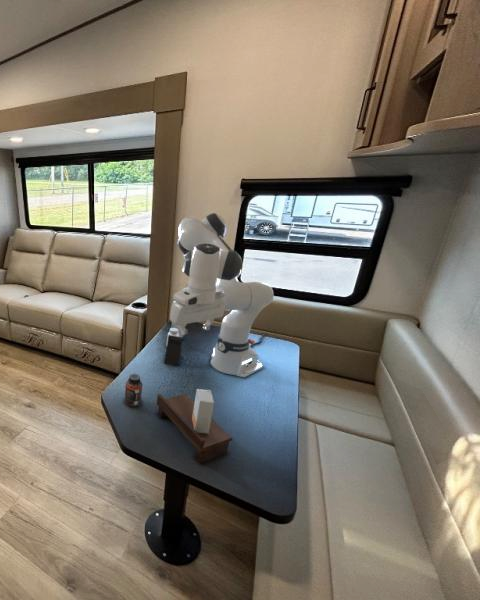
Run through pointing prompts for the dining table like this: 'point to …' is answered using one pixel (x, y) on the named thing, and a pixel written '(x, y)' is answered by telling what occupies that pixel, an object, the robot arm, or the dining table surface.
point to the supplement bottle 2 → (173, 333)
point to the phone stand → (173, 350)
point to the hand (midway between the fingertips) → (195, 331)
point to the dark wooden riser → (181, 416)
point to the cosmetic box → (202, 411)
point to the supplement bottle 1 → (133, 390)
